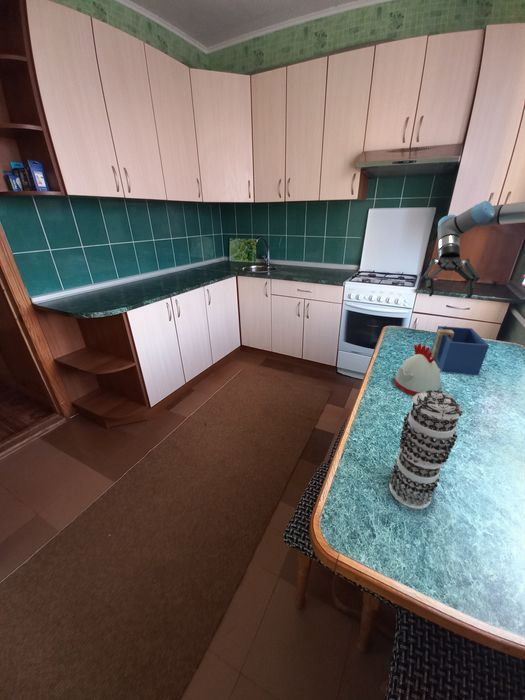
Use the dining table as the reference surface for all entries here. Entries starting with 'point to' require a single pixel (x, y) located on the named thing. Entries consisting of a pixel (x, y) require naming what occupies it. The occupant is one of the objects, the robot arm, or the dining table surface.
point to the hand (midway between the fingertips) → (450, 295)
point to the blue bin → (461, 351)
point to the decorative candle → (424, 447)
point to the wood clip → (438, 339)
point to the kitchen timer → (418, 373)
